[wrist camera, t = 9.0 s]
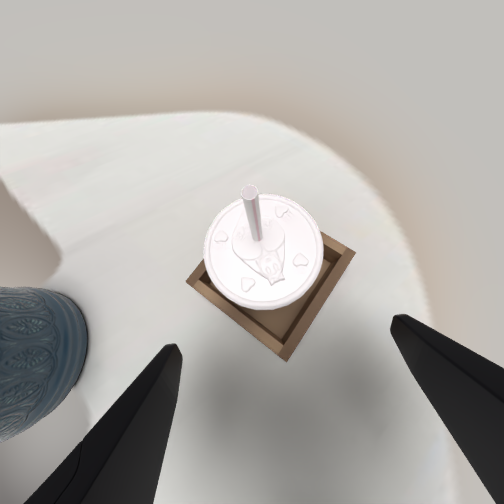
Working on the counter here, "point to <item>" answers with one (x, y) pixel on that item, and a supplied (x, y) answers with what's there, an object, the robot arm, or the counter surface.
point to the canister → (37, 355)
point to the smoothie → (263, 250)
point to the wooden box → (288, 317)
